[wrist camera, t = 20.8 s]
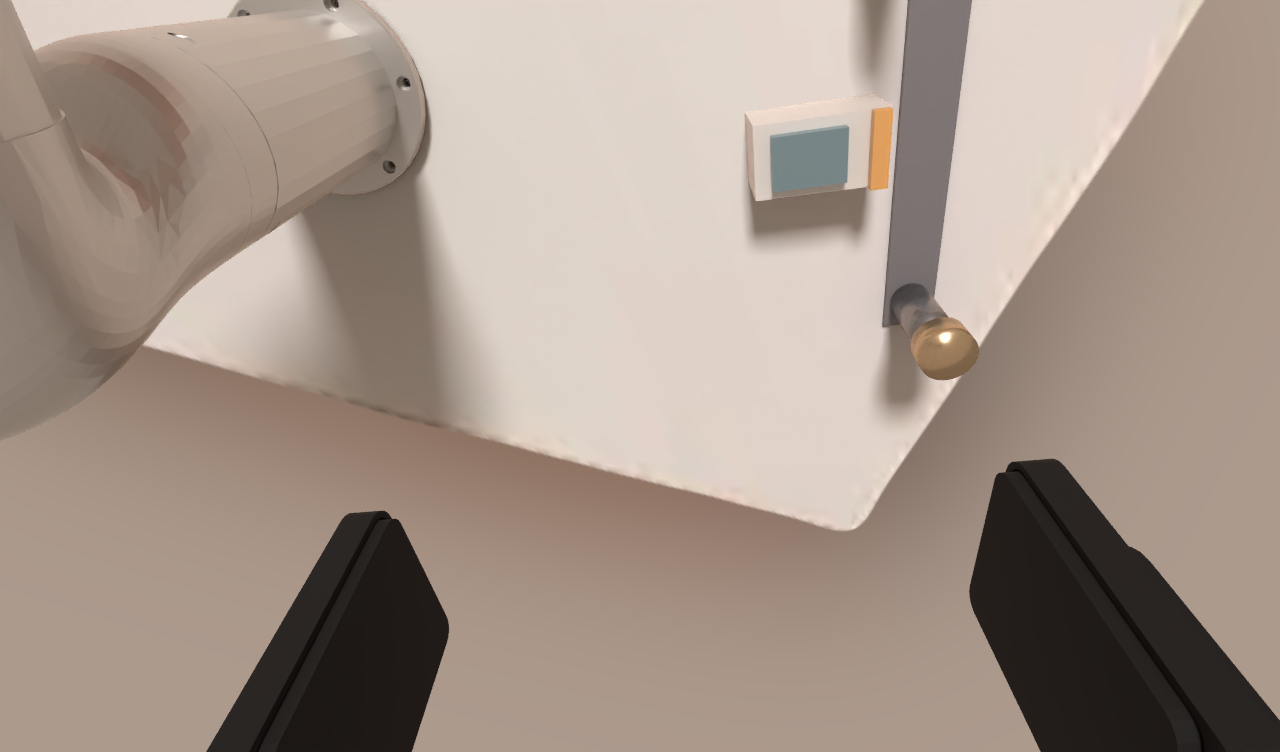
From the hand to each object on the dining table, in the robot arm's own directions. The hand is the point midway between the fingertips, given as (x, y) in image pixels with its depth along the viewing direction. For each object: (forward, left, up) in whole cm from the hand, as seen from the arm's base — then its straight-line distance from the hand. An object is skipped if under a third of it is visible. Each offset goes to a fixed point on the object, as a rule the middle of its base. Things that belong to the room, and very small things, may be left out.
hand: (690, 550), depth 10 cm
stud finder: (+9, -3, -36) cm, 37 cm away
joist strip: (+16, -5, -36) cm, 40 cm away
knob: (+16, -15, -36) cm, 42 cm away
